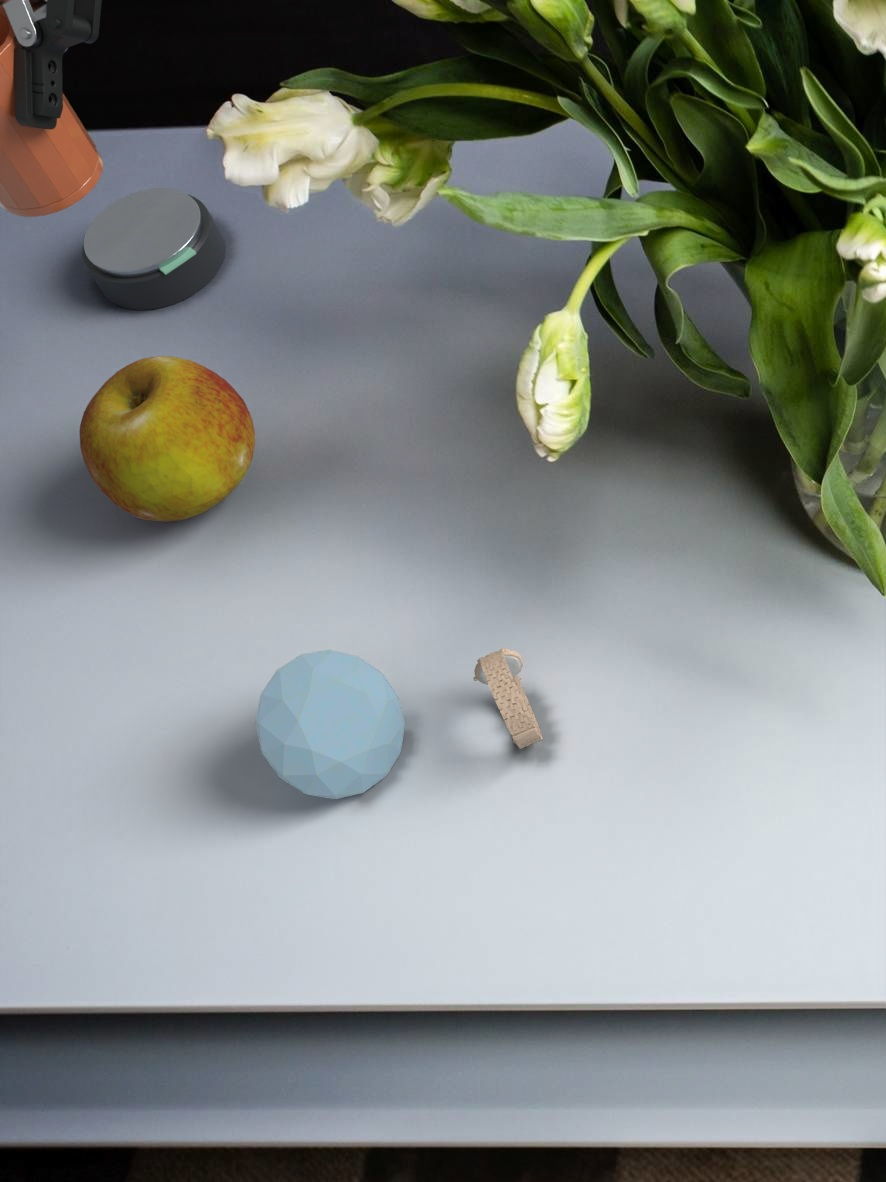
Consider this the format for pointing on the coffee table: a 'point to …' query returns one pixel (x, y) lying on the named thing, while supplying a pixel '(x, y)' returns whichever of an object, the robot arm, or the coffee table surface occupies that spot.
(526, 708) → the wristwatch
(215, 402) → the fruit
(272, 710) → the gemstone
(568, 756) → the coffee table surface
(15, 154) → the cup
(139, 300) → the scale
